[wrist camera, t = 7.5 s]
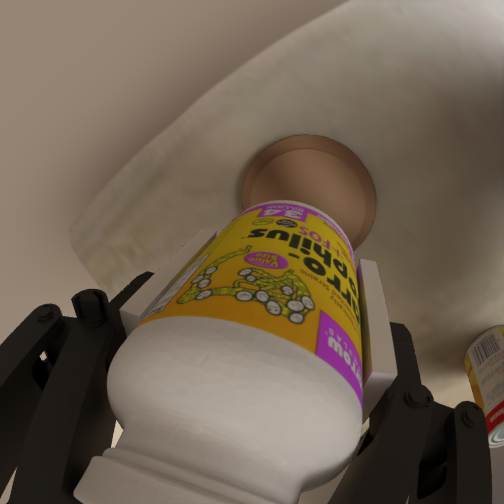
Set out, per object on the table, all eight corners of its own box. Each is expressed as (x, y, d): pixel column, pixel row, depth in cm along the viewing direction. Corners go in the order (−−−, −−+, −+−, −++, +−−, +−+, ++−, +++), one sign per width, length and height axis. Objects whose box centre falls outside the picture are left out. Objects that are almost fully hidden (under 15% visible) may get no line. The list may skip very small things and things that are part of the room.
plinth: (292, 108, 21) (288, 107, 19) (400, 192, 21) (406, 198, 20) (223, 211, 26) (214, 219, 25) (320, 281, 27) (318, 293, 25)
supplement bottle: (382, 259, 13) (413, 569, 2) (293, 333, 16) (226, 561, 5) (274, 164, 12) (5, 453, 1) (199, 261, 16) (37, 468, 5)
